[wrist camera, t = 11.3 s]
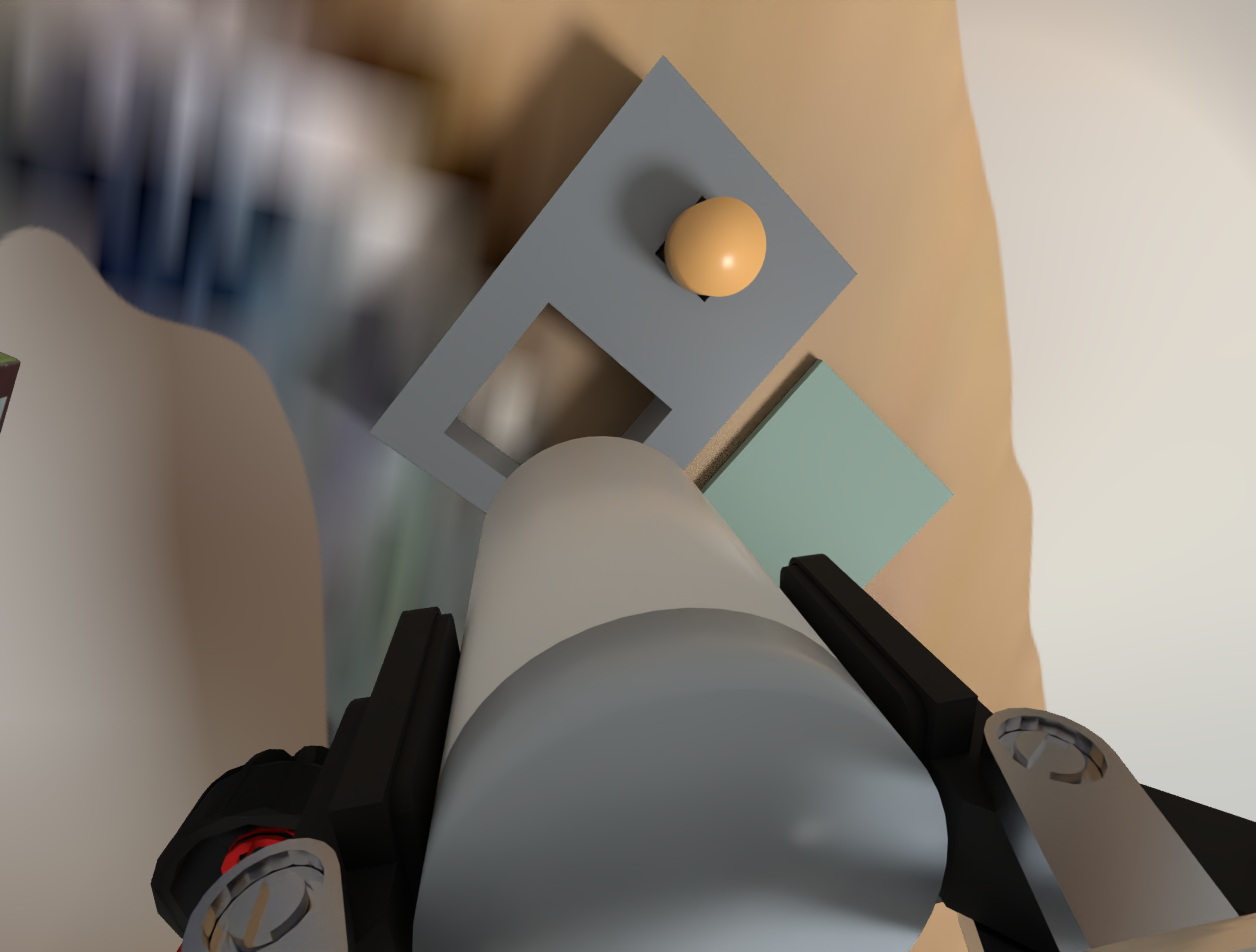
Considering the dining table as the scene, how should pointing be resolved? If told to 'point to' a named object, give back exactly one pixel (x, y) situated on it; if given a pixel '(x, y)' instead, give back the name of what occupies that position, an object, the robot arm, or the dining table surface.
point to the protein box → (6, 382)
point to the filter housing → (629, 291)
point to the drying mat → (825, 483)
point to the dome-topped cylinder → (660, 741)
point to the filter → (233, 826)
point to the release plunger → (715, 247)
